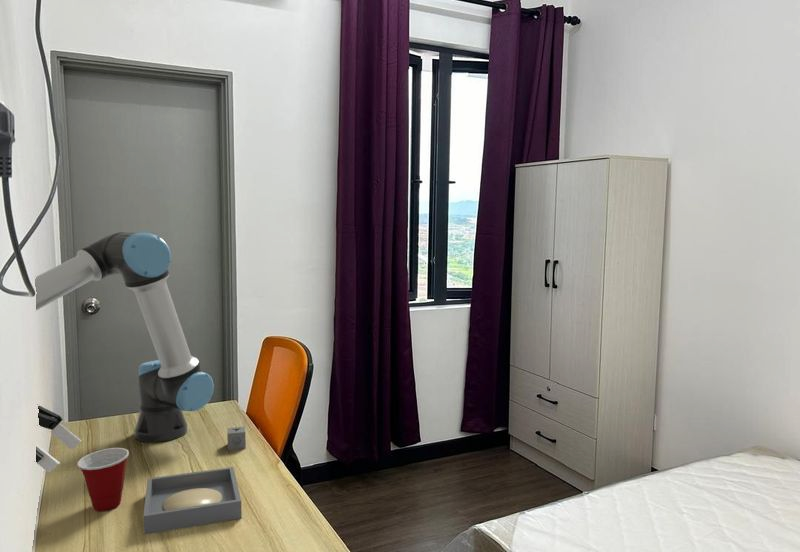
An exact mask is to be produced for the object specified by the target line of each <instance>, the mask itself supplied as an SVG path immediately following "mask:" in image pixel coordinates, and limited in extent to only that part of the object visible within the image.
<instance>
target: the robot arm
mask: <svg viewBox="0 0 800 552" xmlns="http://www.w3.org/2000/svg"><path fill="white" fill-rule="evenodd" d="M171 260H172V254H171V249H170V247H169V245H168V244H167V243H166V241H165V240H164V239H163V238H162V237H160V236H158V235H156V234H154V233H149V232H144V231H140V232H139V231H138V232H124V231H123V232H122V231H120V232H115V233H111V234H108V235H107V236H104V237H103V238H100V239H98V240H97V241H95V242H92V243H90V244H89V245H87V246H85V247H83V248H81V249H79V250H78V251H77V252H76V256H74V257H72V258H70V259H68V260H65V262H62V263H61V264H58V265H57V266H55V267H53V268H50V269H48V270H47V271H45V272H43V273H40V274H39V275H36V276H35V277H36V279H35V287H36V292H37V294H36V311H38V310H40V309H41V308H44V307H45V306H47V305H49V304H51V303H53V302H54V301H57V300H59V299H60V298H62V297H65V296H66V295H67V294H69V293H71V292H73V291H75V290H76V289H79V288H81V287H82V286H84V285H86V284H87V283H90V282H91V281H94V282H95V281H96V282H99V281H101V280H103V279H104V278H106V277H109V276H110V277H111V276H112V275H118V274H120V275H121V276H122V279H123V282H124V284H125V285H124V286H125V287H126V289H129V290H131V291H133V292H134V294H135V295H134V296H135V298H136V300H137V304H138V306H139V308H140V311H141V313H142V314H141V315H142V317H143V319H144V322H145V325H146V329H147V330H148V333H149V336H150V338H151V339H150V340H151V341H152V344H153V347H154V350H155V352H156V356H157V359H155V360H151V361H145V362H143V363H141V364H140V365H139V366H138V375H137V378H138V389H139V391H138V392H139V393H138V394H139V414H138V418H137V422H136V425H135V428H134V438H135V440H137V441H140V442H146V443H157V442H158V443H159V442H166V441H171V440H175V439H178V438H180V437H182V436H184V435H185V434H187V432H188V422H187V419H186V417H185V415H184V413H183V412H196V411H199V410H202V409H203V408H204V407H205V406H206V405H207V404H208V403H209V402H210V400H211V397H212V396H213V394H214V389H215V385H214V381H213V378H212V376H211V375H210V374H208V373H207V372H204V371H203V370H202V367H201V364H200V361H199V359H198V358H197V357H195V356H193V355H192V354H191V352H190V349H189V345H188V343H187V339H186V336H185V334H184V331H183V330H184V329H183V327H182V325H181V322H180V319H179V317H178V316H179V315H178V313H177V311H176V307H175V304H174V301H173V298H172V295H171V292H170V289H169V287H168V283H167V280H168V278H169V277H170V272H169V267H170V263H171ZM38 409H39V413H38V418H39V425H40V426H39V427H41V428H44V429H48V430H50V434H52V435H53V436H54V437H56V438H57V439H58V440H59V441H61V442H62V443H63V444H64V445H65V446H67V447H68V448H70V450H71V451H73V450H74V449H75V448H76V447H77V446H78V445H79V444H80V443H81V442H82V440H81V438H80V437H79V436H77V435H76V434H74V433H73V432H72V431H71V430H69V429H68V428H67V427H66V426H65V425H63V424H62V423H61V422H62V421H63V418H62V416H61V415H60V414H57V413H55V412H54V411H52V410H50V409H47V408H45V407H44V406H41V405H39V406H38ZM35 444H36V462H37V463H36V462H35V463H36V464H37V465H39V466H40V467H41V468H42V469H43V470H44V471H46V472H47V473H48V474H50V473H52V471H54V469H56V468H57V466H59V464H60V463H61V462H60V461H59V460H57V459H56V458H54V457H53V456H52V455H51V454H50V453H48V452H47V451H46V450H45V449H43V447H41V446H40V445H39V444H37V443H35Z"/></svg>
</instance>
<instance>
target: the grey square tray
mask: <svg viewBox="0 0 800 552" xmlns="http://www.w3.org/2000/svg"><path fill="white" fill-rule="evenodd" d="M146 481H147V482H146V488H145V489H146V490H145V500H144V506H143V507H144V509H143V516H142V517H143V518H142V519H143V534H144V535H149V534H155V533H160V532H166V531H167V532H168V531H173V530H180V529H185V528H191V527H198V526H203V525H208V524H214V523H215V524H216V523H222V522H229V521H233V520H240V519H242V518H243V517H242V516H243V515H242V512H243V511H242V499H241V494H240V490H239V485H238V480H237V477H236V472H235V467H234V466H230V467H223V468H215V469H208V470H200V471H194V472H193V471H192V472H186V473H178V474H170V475H163V476H157V477H148V478H147V480H146Z"/></svg>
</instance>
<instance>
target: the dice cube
mask: <svg viewBox="0 0 800 552" xmlns="http://www.w3.org/2000/svg"><path fill="white" fill-rule="evenodd" d="M226 429H227V433H226V434H227V451H232V450H233V451H234V450H235V451H236V450H245V449H247V447H246V445H247V444H246V426H235V427H227V428H226Z"/></svg>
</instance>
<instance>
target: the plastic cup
mask: <svg viewBox="0 0 800 552" xmlns="http://www.w3.org/2000/svg"><path fill="white" fill-rule="evenodd" d="M129 454H130V453H129V450H128V449H126V448H123V447H111V448H104V449H100V450H97V451H94V452H91V453H88V454H87V455H84V456H83V457H81V458H80V459H79V460H78V461H77V467H78V468H79V469H80V470H81V472H82V474H83V477H84V480H85V483H86V484H85V485H86V487H87V488H86V489H87V491H88V495H89V498H90V501H91V506H92V509H93V510H95V511H97V512H107V511H111V510H114V509H116V508H118V507H119V506H120V505H121V503H122V496H123V495H122V494H123V490H124V483H125V474H126V468H127V461H128V457H129Z"/></svg>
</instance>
